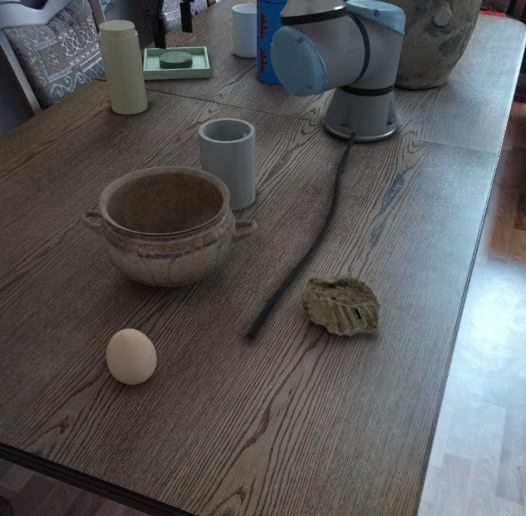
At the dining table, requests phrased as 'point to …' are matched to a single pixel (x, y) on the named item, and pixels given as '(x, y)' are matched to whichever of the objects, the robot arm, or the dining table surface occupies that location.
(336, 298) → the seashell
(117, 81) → the jar
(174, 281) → the cooking pot
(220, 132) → the cup
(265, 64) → the thermos
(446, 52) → the clay pot
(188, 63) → the lid
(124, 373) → the egg
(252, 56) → the mug
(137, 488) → the dining table surface
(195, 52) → the tray
